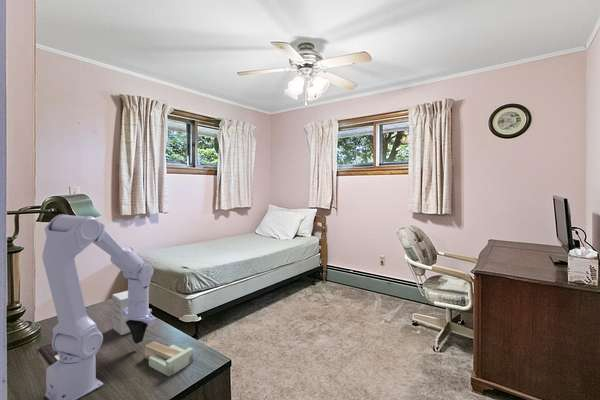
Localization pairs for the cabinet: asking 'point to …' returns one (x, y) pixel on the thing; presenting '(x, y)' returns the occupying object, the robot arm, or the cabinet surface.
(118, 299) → the supplement box
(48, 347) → the chocolate bar
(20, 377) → the cabinet surface
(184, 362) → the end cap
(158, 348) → the tan wooden block
